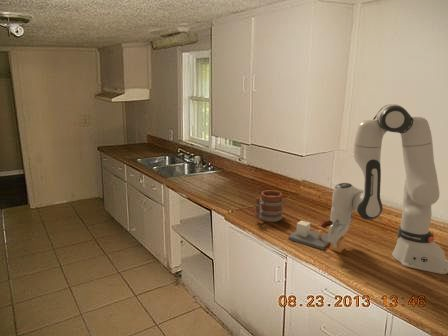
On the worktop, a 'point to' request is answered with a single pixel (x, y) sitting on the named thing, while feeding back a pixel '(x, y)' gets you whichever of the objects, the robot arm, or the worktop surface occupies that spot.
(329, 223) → the pliers
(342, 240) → the orange matte cube
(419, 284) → the worktop surface
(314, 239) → the plate
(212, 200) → the worktop surface
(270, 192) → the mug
